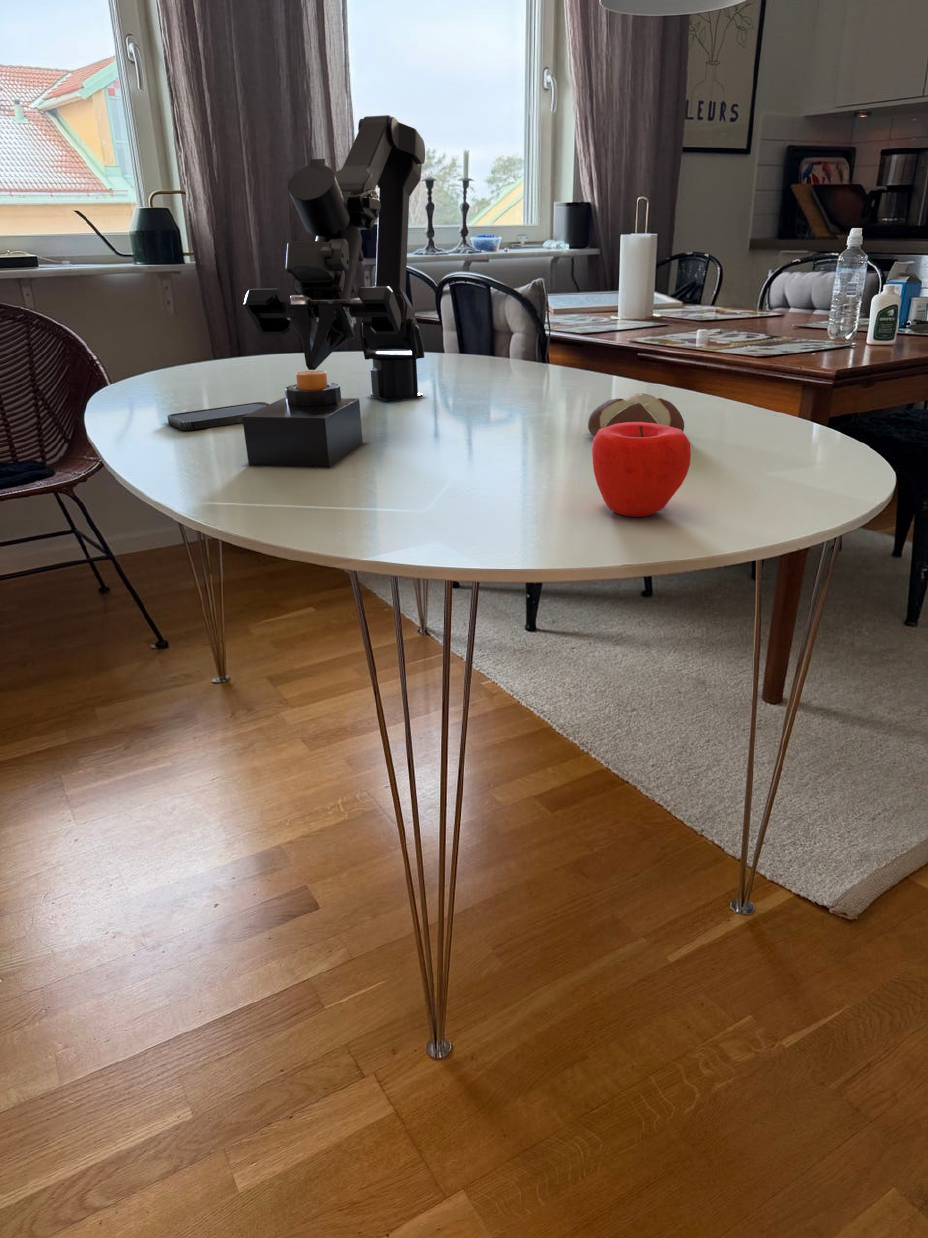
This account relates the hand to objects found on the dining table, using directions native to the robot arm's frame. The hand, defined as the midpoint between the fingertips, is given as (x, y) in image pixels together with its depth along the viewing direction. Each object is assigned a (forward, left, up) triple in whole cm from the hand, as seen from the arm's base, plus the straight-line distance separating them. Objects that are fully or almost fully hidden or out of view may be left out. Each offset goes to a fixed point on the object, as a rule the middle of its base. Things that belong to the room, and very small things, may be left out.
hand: (310, 367), depth 103 cm
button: (0, 0, -3) cm, 3 cm away
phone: (+4, -25, -10) cm, 27 cm away
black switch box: (+2, +2, -10) cm, 10 cm away
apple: (-14, +43, -10) cm, 46 cm away
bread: (-34, +20, -10) cm, 41 cm away
